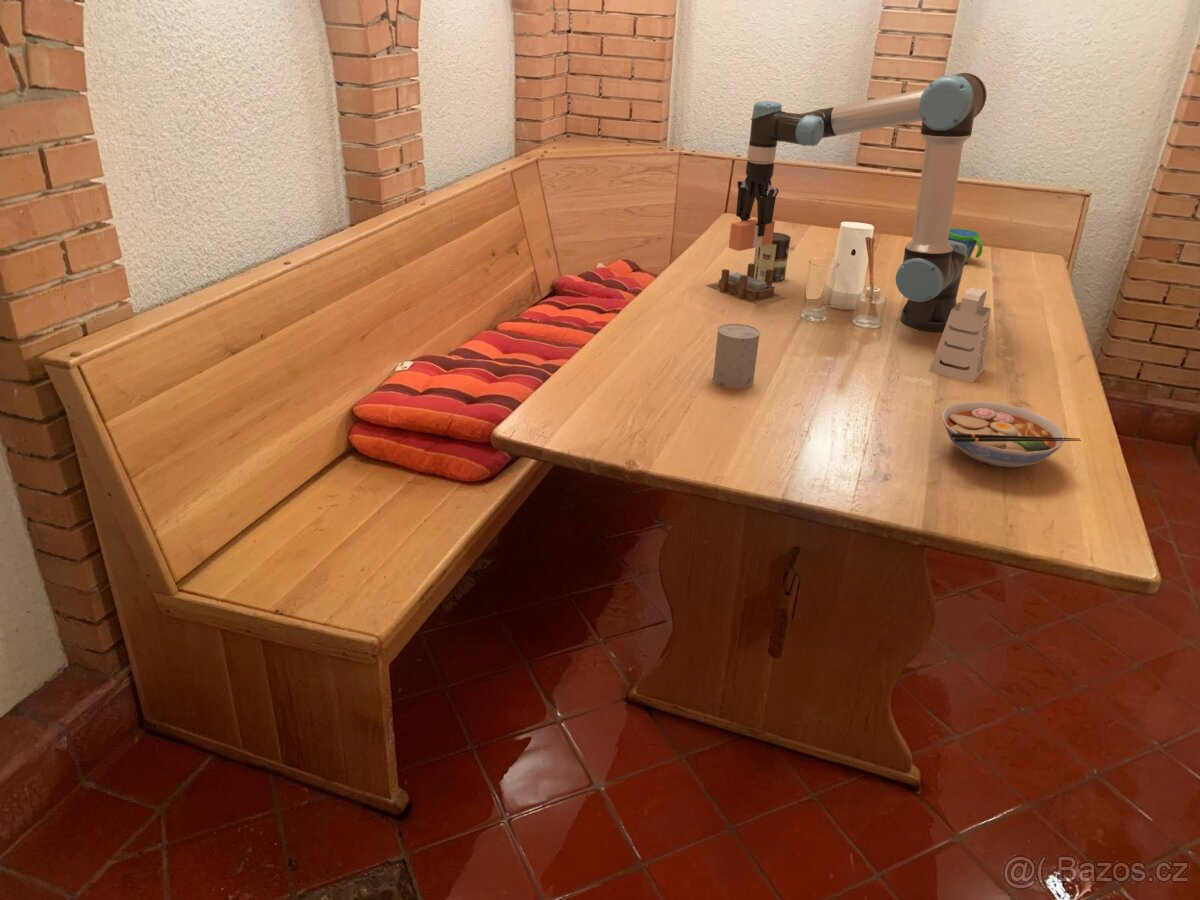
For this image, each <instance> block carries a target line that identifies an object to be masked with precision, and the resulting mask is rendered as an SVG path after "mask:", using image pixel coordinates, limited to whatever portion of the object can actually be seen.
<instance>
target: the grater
mask: <svg viewBox="0 0 1200 900" xmlns="http://www.w3.org/2000/svg"><path fill="white" fill-rule="evenodd" d="M986 297H987V290H986V289H985V290H984V289H980V288H976V287H968V289H967V290H965V292H964V293H963V295H962V299H961V301H959V302H958V303H957V305H956V306H955V307H954V308H952V309H951V312H950V315H949V317H948V320H947V323H946V326H945V328H944V331H943V332H942V334H941V337H940V339H939V343H938V346H937V348H936V350H935V353H934V355H933V360H932V362H931V365H930V367H929V369H928V372H930V373H934V374H937V375H942V376H945V377H950V378H954V379H959V380H961V381H966V382H970V383H974V382H975V381H976V379H978V377H979V376H980V375H981V374H982V373H983V371H984V369H985V364H986V355H987V348H988V347H987V346H988V340H989V339H988V337H989V329H990V322H991V321H990V320H991V312H992V308H991V307H987V306H984V305H985V301H986ZM941 361H942V362H943V363H944V364H949V365H953V366H956V367H961V368H964V369H965V368H968V369H965V370H964V369H959V368H955V367H950V366H947V365H943V364H942V363H940V362H941Z"/></svg>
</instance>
